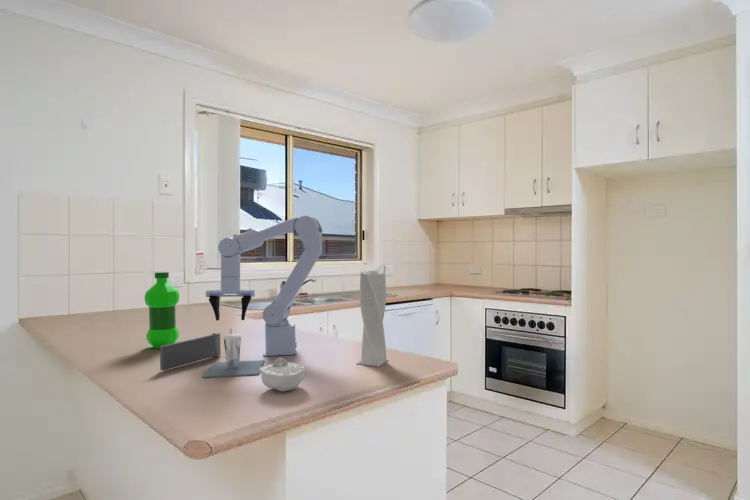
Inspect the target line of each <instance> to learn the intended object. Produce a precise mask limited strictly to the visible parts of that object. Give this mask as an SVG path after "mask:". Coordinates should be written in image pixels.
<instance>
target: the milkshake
mask: <svg viewBox="0 0 750 500" xmlns="http://www.w3.org/2000/svg"><path fill="white" fill-rule="evenodd" d="M232 330H233V329H232V328H230V329H229V333H230V334H226V335H225V336H224V337H223V344H224V354H225V362H226V365H227V368H229V369H234V368H238V367H239V361H240V360H241V359H240V357H241V343H242V336H241V334H240V333H233V331H232Z"/></svg>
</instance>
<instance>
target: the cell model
mask: <svg viewBox="0 0 750 500" xmlns="http://www.w3.org/2000/svg"><path fill="white" fill-rule="evenodd" d="M260 374H261V375H260V376H261V377H260V378H261V382H262V384H263V385H264V386H265V387H267V388H269V389H274V390H277V391H279V392H288V391H291V390H295V389H297V388H298V387H299V385H300V384H302V381H303V380H304V379H305V377H306V369H305V365H303V364H300V363H296V362H289V361H287V360H286V359H284V358H282V357H280V358H277V359H275V360H274V361H273V363H269V364H266V365H263V366H262V367H261V368H260Z"/></svg>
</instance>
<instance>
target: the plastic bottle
mask: <svg viewBox="0 0 750 500" xmlns="http://www.w3.org/2000/svg"><path fill="white" fill-rule="evenodd" d="M169 275H170V272H169V271H167V272H166V271H162V272H158V271H157V272H154V279H156V283H155V284H153V285H152V286H151V287H150V288H149V289H148V290H147V291H146V292H145V294H144V303H145V305H146V306H147V307H148V309H149V310H148V311H149V313H148V314H149V315H148V316H149V317H148V318H149V329H148V331H147V333H146V340H147V343H148V344H149V345H151V346H152V347H154V349H160V346H164V345H168V344H173V343H177V340H178V339H179V336H180V335H179V334H180V332H179V330H178V328H177V326H176V324H177V323H176V321H177V320H176V305H177V304H178V303H179V300H180V293H179V291H178V289H176V288H175V287H174V286H173V285H172V284H170V283H169V282H168V278H170V277H169Z"/></svg>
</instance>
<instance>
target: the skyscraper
mask: <svg viewBox="0 0 750 500" xmlns="http://www.w3.org/2000/svg"><path fill="white" fill-rule="evenodd" d="M382 267H383V272H382V273H381V272H380V270H381V268H382ZM386 270H387V266H386V265H385V264H380V265H379V267H378V269H369V270H362V271H360V277H359V278H360V279H359V304H360V305H359V306H360V312H361V313H360V314H361V318H362V322H363V331H362V341H361V342H362V343H361V360H360V361H359V362H357V363H356V365H358V366H369V367H377V368H380V367H382V366H383V365H385V364H386V363H388V362H390V360H388V359H387V348H386V347H387V345H386V337H385V328H384V318H385V311H386V304H387V303H386V302H387V285H386V283H387V282H386Z"/></svg>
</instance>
